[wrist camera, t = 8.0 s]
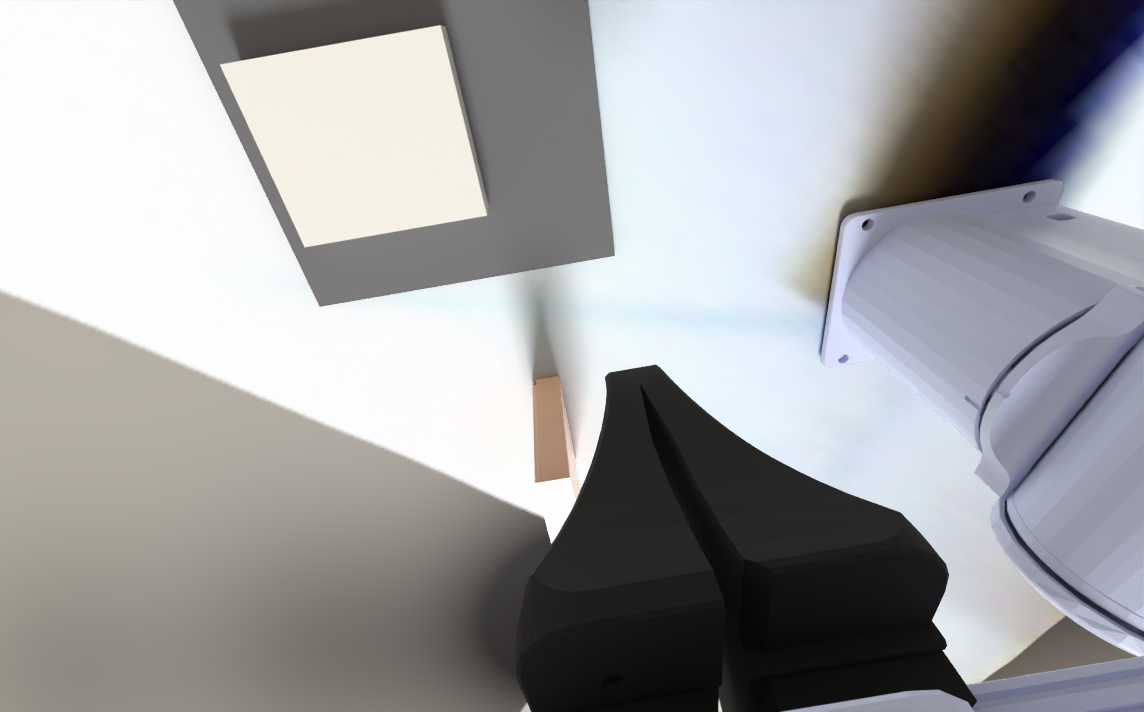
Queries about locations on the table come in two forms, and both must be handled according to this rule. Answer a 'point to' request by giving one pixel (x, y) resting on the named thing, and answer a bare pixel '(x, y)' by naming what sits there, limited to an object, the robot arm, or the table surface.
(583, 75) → the mat
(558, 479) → the terracotta tile
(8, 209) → the table surface
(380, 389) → the table surface
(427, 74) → the glazed tile
